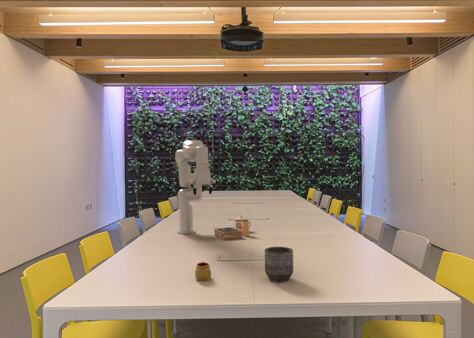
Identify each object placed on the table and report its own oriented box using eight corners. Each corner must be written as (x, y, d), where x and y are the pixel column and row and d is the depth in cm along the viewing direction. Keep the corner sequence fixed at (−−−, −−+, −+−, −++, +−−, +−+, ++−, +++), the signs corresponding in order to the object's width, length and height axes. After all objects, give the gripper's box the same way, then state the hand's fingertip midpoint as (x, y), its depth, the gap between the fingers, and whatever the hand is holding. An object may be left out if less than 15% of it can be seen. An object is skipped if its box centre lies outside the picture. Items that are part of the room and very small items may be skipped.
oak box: (214, 235, 271) (214, 227, 271) (233, 234, 276) (233, 226, 276) (222, 240, 255) (222, 231, 255) (242, 238, 260) (242, 230, 260)
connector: (241, 235, 270) (241, 219, 270) (246, 235, 271) (246, 218, 271) (243, 236, 266) (243, 220, 266) (249, 236, 268) (248, 219, 267)
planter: (276, 273, 178) (276, 245, 177) (299, 278, 169) (298, 249, 169) (259, 279, 169) (258, 250, 169) (281, 285, 160) (281, 254, 160)
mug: (209, 281, 168) (209, 266, 168) (194, 281, 168) (193, 265, 168) (213, 273, 180) (213, 259, 180) (198, 273, 180) (198, 258, 180)
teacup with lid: (234, 232, 283) (234, 216, 282) (235, 230, 292) (235, 214, 291) (251, 232, 281) (250, 216, 281) (251, 230, 291) (251, 214, 290)
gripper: (213, 166, 249) (214, 193, 249) (187, 166, 243) (187, 194, 243) (217, 166, 242) (217, 194, 242) (190, 166, 236) (190, 195, 236)
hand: (202, 194), depth 243 cm, fingers open, 9 cm apart
